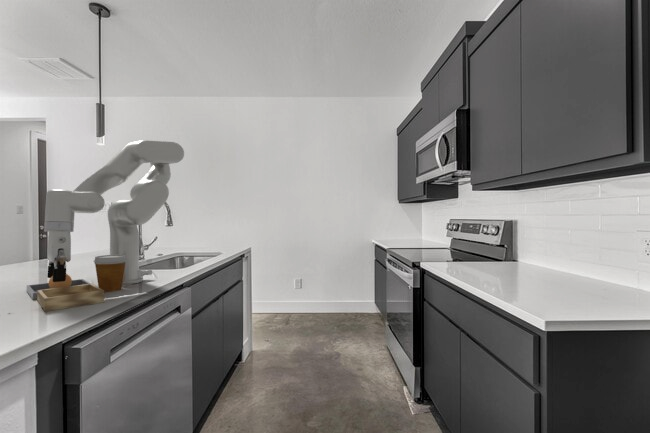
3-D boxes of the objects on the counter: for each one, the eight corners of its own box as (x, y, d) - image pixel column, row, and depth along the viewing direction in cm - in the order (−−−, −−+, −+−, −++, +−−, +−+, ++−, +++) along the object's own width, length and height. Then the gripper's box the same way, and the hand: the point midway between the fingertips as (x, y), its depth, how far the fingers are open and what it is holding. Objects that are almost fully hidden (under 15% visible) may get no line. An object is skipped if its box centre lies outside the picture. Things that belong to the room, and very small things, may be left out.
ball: (69, 288, 112) (69, 270, 112) (73, 291, 108) (73, 273, 108) (47, 291, 108) (47, 273, 108) (50, 294, 104) (50, 275, 104)
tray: (92, 294, 107) (92, 283, 107) (103, 302, 98) (104, 290, 98) (37, 302, 97) (37, 290, 97) (44, 311, 88) (44, 298, 88)
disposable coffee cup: (133, 289, 114) (133, 255, 114) (107, 296, 105) (107, 258, 105) (112, 287, 117) (113, 254, 117) (86, 293, 108) (86, 257, 108)
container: (82, 285, 119) (82, 279, 119) (93, 292, 109) (93, 285, 109) (26, 293, 108) (26, 285, 108) (32, 301, 97) (32, 293, 97)
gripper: (79, 228, 105) (76, 281, 104) (68, 226, 116) (65, 275, 116) (49, 227, 99) (45, 284, 99) (40, 226, 111) (37, 277, 110)
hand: (56, 279), depth 107 cm, fingers open, 9 cm apart
